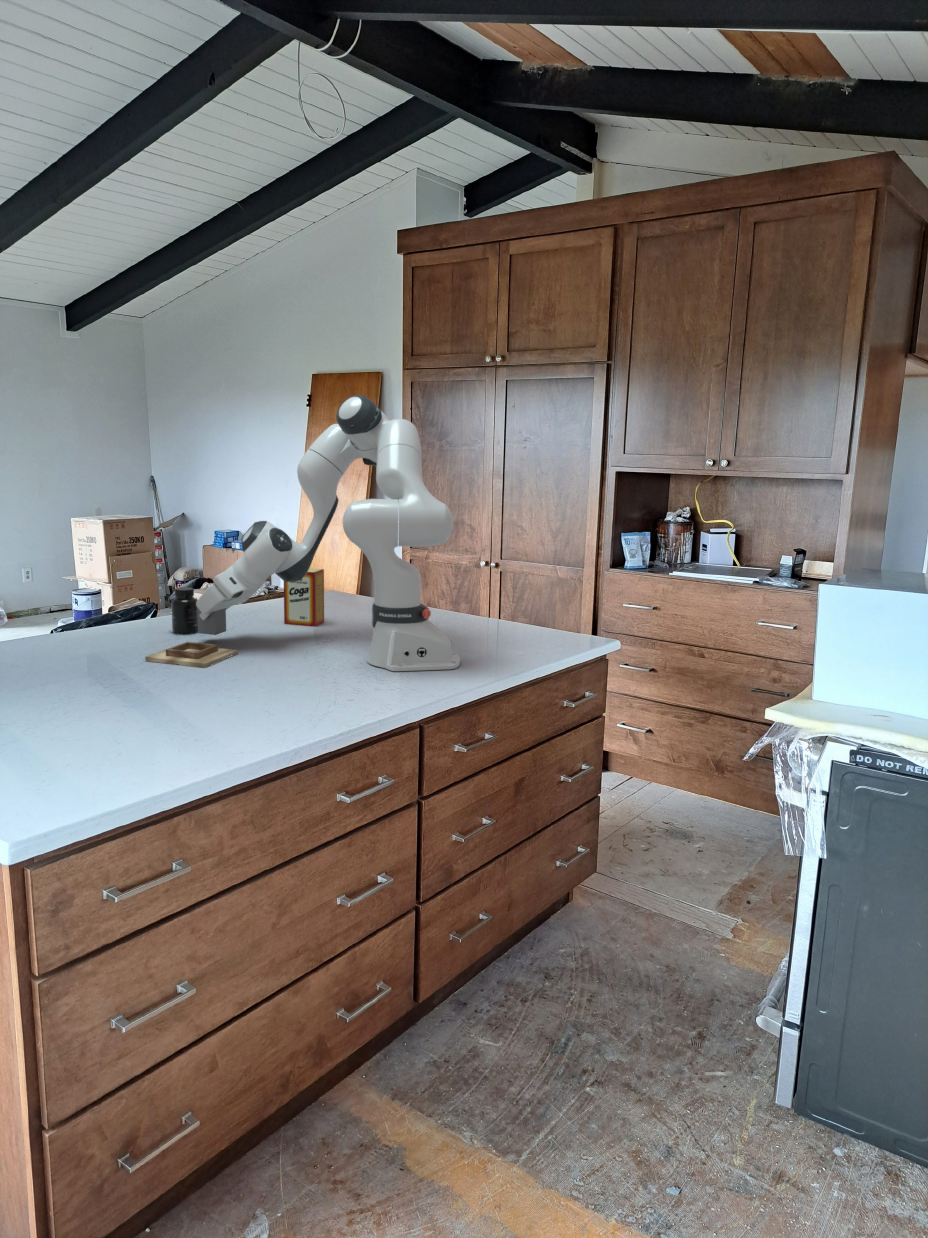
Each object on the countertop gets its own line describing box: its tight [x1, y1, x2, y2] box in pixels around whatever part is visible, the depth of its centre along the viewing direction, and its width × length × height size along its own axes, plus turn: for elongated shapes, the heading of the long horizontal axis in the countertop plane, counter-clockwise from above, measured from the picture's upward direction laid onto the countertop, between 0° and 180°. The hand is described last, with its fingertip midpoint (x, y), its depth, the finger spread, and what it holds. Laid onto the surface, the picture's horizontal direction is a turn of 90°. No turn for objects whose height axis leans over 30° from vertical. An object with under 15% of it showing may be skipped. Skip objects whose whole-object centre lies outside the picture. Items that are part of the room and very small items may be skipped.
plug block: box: [197, 607, 227, 636], centre depth 215 cm, size 5×5×8 cm
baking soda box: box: [283, 567, 325, 627], centre depth 240 cm, size 10×6×16 cm
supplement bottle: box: [170, 586, 198, 635], centre depth 225 cm, size 7×7×12 cm
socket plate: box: [144, 641, 239, 668], centre depth 201 cm, size 16×14×2 cm
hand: (209, 615), depth 215 cm, fingers closed on plug block, 5 cm apart
